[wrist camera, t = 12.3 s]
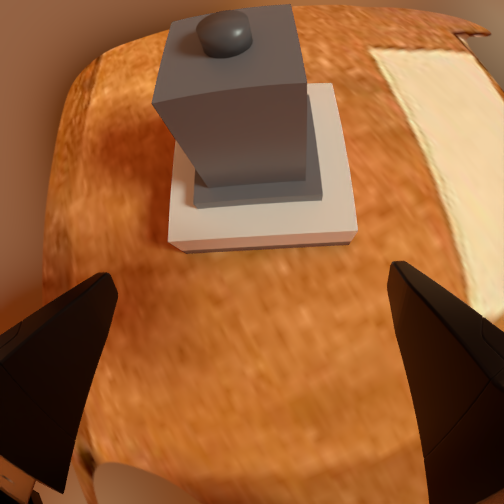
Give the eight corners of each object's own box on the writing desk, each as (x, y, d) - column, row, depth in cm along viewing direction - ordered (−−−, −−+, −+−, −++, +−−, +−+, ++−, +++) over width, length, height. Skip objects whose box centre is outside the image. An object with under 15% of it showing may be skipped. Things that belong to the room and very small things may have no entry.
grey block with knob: (319, 213, 18) (340, 78, 7) (207, 220, 19) (112, 110, 8) (308, 121, 19) (306, -23, 8) (211, 129, 20) (150, 2, 9)
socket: (348, 244, 18) (358, 229, 15) (186, 253, 19) (165, 240, 16) (329, 110, 20) (332, 80, 17) (193, 122, 22) (179, 95, 18)
